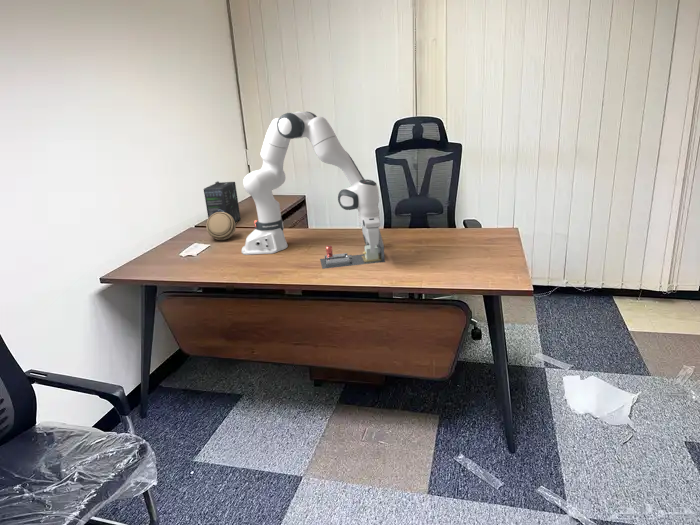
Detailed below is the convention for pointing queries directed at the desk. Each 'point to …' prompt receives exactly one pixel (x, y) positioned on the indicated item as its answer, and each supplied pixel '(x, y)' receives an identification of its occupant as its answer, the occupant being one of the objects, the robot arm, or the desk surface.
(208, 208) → the headset box
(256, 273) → the desk surface
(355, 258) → the press
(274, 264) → the desk surface
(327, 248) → the ram
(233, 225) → the mechanical component
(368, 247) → the block
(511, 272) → the desk surface
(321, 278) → the desk surface
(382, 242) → the electrical switch
